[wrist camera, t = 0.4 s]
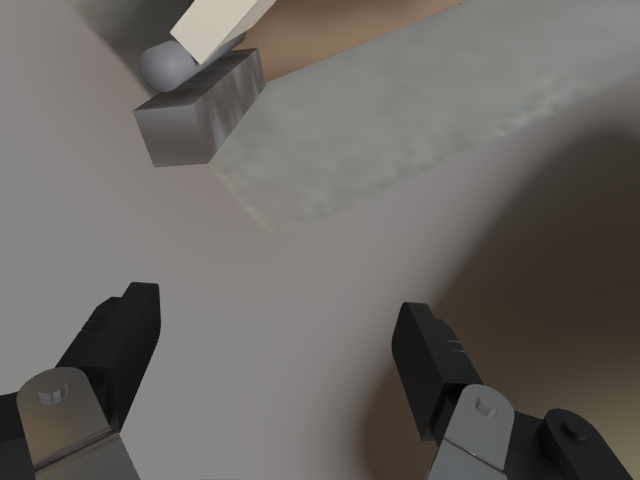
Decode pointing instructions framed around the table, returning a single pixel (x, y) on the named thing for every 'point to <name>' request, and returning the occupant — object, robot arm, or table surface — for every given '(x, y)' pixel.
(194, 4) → the gate
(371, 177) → the table surface
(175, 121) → the gate frame
